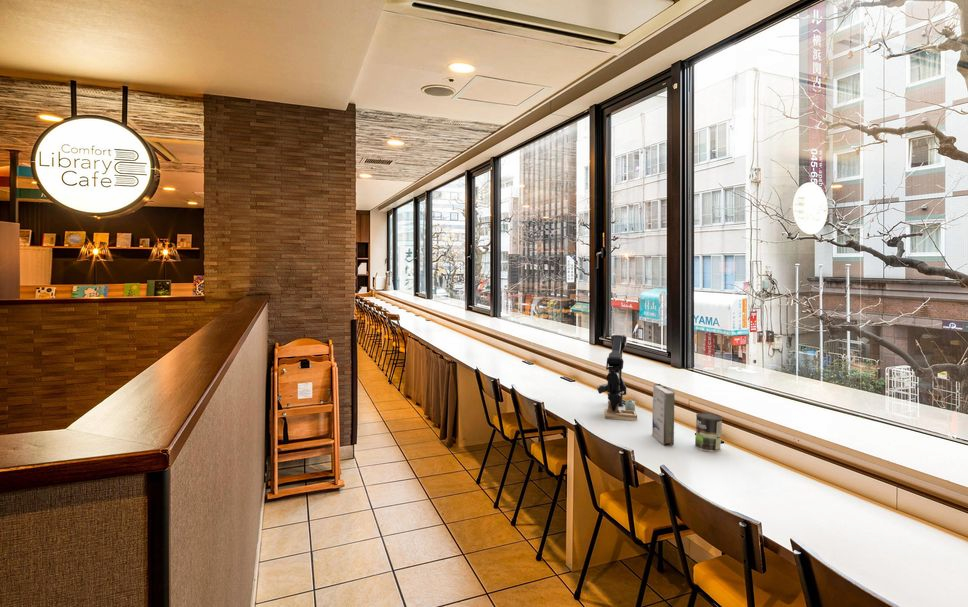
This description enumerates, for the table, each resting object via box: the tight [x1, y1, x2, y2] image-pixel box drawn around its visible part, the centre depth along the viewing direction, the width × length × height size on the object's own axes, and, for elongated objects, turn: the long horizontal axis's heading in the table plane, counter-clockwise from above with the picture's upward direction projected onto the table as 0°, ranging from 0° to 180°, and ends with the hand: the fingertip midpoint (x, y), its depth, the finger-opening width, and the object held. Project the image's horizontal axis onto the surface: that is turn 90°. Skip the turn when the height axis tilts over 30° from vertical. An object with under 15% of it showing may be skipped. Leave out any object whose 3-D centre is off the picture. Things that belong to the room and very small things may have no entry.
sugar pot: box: [624, 399, 636, 411], centre depth 273 cm, size 5×5×7 cm
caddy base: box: [603, 408, 638, 421], centre depth 264 cm, size 9×16×2 cm, turn 78°
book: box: [651, 383, 676, 446], centre depth 228 cm, size 16×6×24 cm, turn 178°
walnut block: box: [607, 399, 619, 413], centre depth 265 cm, size 5×5×5 cm
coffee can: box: [694, 412, 723, 453], centre depth 219 cm, size 10×10×14 cm
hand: (613, 409), depth 265 cm, fingers closed on walnut block, 5 cm apart
